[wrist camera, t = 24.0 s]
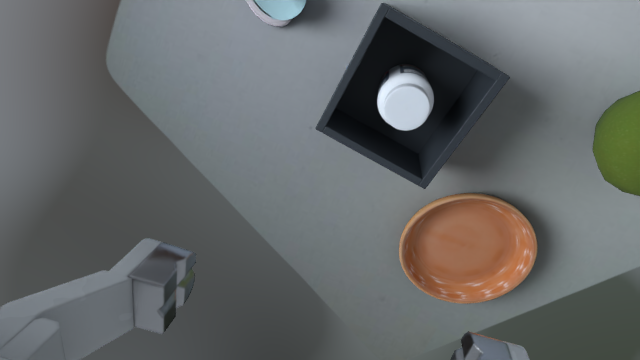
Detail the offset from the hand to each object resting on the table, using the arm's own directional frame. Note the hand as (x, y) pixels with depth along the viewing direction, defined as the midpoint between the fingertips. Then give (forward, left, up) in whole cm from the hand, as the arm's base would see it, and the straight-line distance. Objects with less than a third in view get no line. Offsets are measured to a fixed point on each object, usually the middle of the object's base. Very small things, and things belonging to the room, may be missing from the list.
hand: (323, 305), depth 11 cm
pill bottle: (+3, +1, -34) cm, 34 cm away
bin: (+3, +1, -34) cm, 34 cm away
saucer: (+20, -12, -34) cm, 41 cm away
